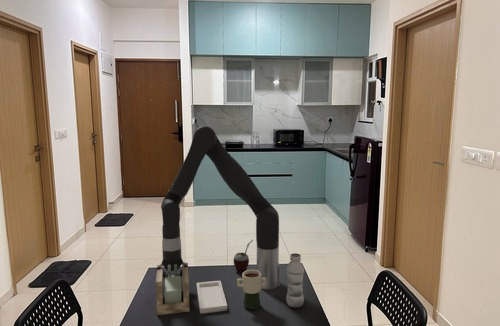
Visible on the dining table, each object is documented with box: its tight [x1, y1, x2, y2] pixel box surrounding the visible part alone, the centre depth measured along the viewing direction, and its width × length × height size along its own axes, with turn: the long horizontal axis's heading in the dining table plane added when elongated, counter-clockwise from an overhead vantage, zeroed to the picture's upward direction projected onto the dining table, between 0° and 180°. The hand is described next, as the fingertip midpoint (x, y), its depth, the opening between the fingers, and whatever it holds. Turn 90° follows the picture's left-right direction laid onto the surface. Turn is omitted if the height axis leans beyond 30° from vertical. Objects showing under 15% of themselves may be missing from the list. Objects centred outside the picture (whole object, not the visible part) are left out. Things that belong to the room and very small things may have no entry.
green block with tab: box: [164, 275, 183, 304], centre depth 142 cm, size 6×17×7 cm, turn 12°
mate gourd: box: [233, 239, 254, 275], centre depth 164 cm, size 8×8×15 cm
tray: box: [196, 280, 228, 314], centre depth 141 cm, size 10×20×2 cm, turn 12°
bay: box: [155, 267, 191, 316], centre depth 135 cm, size 12×12×12 cm
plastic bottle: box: [285, 252, 305, 309], centre depth 134 cm, size 6×7×20 cm
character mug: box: [236, 269, 266, 310], centre depth 134 cm, size 11×7×13 cm, turn 93°
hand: (173, 286), depth 149 cm, fingers closed on green block with tab, 1 cm apart
